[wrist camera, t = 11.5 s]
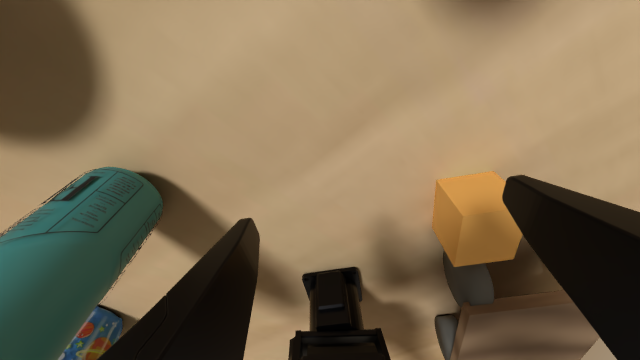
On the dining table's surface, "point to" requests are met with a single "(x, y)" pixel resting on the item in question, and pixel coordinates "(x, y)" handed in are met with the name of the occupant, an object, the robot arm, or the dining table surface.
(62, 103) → the dining table surface
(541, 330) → the trolley
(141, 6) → the dining table surface
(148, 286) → the dining table surface
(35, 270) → the beverage bottle
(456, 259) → the block
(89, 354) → the snack cup
